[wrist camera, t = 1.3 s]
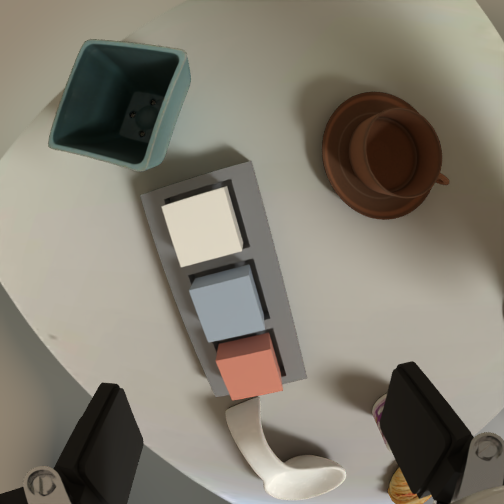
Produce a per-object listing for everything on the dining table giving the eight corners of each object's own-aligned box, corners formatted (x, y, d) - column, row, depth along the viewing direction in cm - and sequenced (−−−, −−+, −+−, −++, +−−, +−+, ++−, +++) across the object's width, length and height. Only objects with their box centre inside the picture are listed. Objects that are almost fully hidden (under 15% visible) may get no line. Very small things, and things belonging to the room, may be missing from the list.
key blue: (249, 264, 27) (249, 275, 24) (263, 314, 28) (264, 329, 25) (195, 278, 27) (188, 290, 24) (212, 326, 28) (208, 342, 25)
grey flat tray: (251, 161, 27) (251, 160, 24) (304, 365, 32) (307, 378, 30) (148, 193, 27) (140, 195, 25) (217, 384, 33) (215, 397, 30)
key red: (269, 332, 28) (270, 349, 26) (280, 372, 30) (283, 390, 27) (218, 343, 29) (215, 360, 26) (233, 382, 30) (232, 400, 27)
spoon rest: (351, 466, 38) (361, 499, 31) (287, 491, 39) (290, 523, 32) (281, 381, 33) (287, 424, 26) (200, 416, 34) (192, 458, 27)
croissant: (379, 455, 42) (369, 493, 35) (431, 447, 36) (426, 488, 30) (405, 489, 46) (398, 518, 39) (446, 482, 40) (441, 513, 33)
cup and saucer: (425, 106, 25) (458, 96, 19) (425, 218, 28) (458, 229, 22) (316, 89, 25) (332, 69, 19) (316, 215, 28) (333, 225, 22)
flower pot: (208, 85, 25) (189, 49, 16) (177, 173, 27) (144, 173, 18) (126, 69, 24) (84, 38, 16) (98, 152, 26) (45, 147, 18)
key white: (227, 185, 25) (223, 187, 22) (243, 242, 26) (241, 251, 23) (171, 202, 25) (161, 206, 23) (188, 257, 27) (180, 267, 24)
